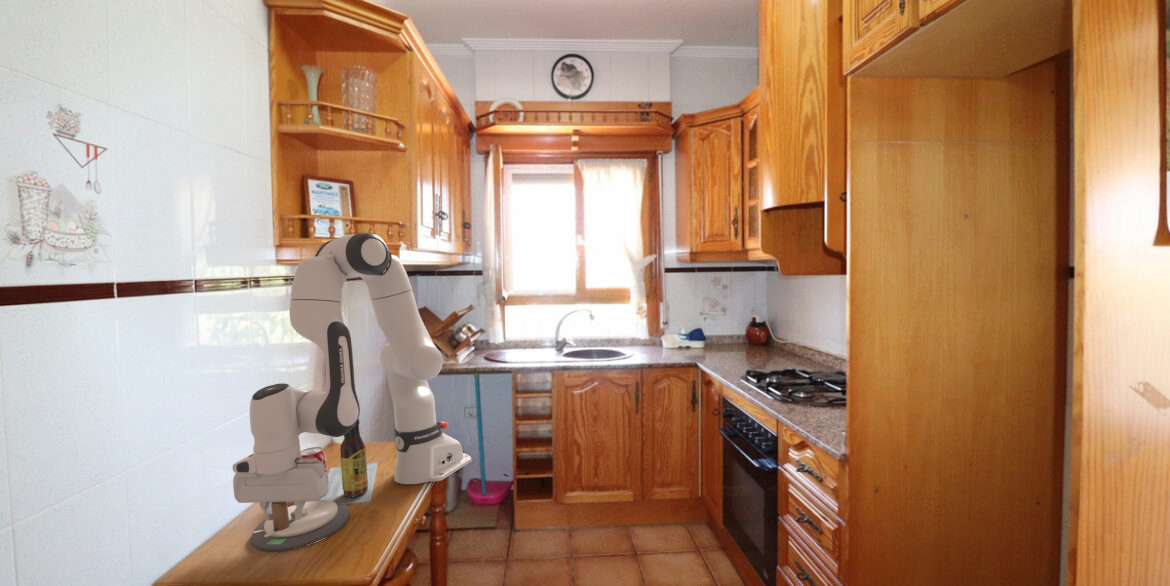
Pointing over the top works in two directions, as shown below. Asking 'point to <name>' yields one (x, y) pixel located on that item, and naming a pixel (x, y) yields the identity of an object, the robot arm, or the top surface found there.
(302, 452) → the soda can
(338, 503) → the dial base
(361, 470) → the sauce bottle
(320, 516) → the dial
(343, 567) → the top surface
